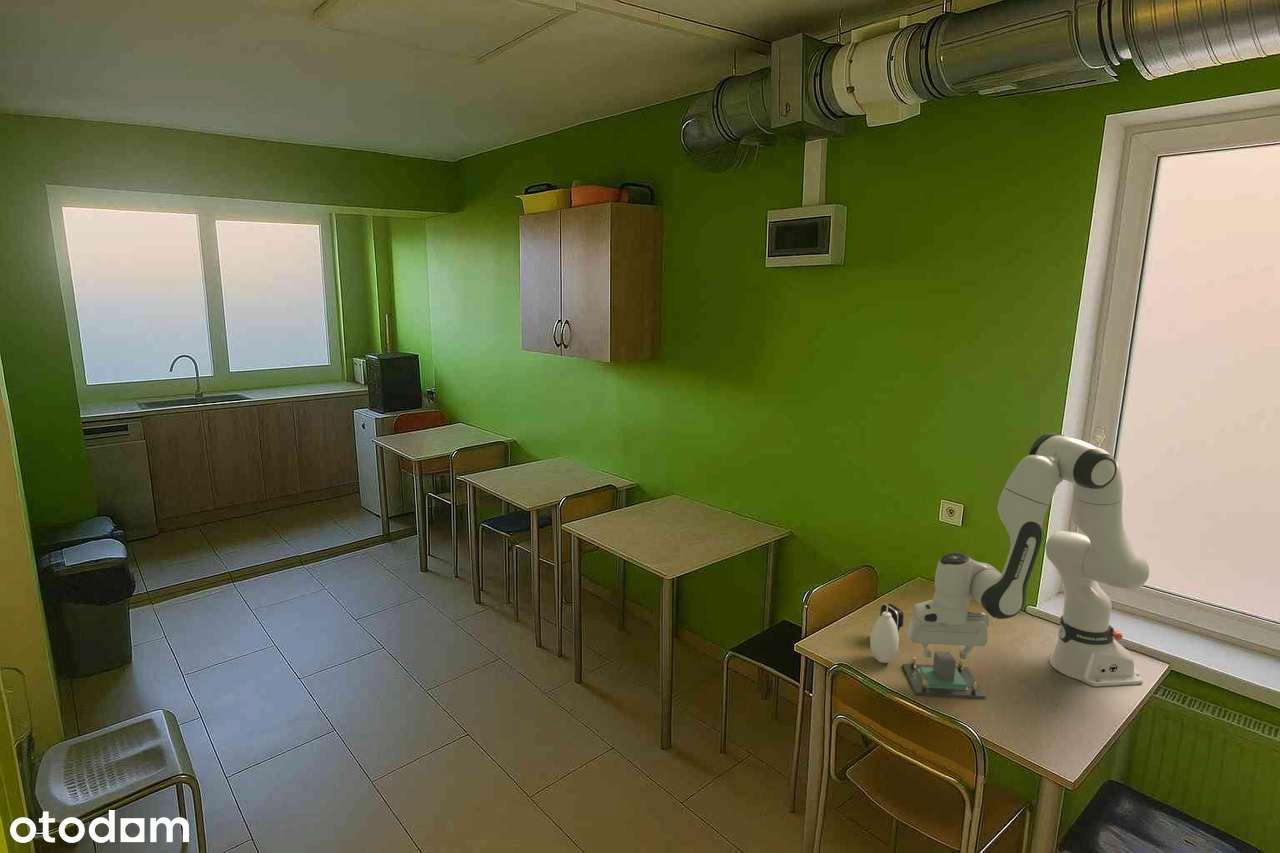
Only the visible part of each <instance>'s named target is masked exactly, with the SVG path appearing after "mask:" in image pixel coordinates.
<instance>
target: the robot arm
mask: <svg viewBox="0 0 1280 853" xmlns="http://www.w3.org/2000/svg"><path fill="white" fill-rule="evenodd" d="M1063 481H1067V482H1070V483H1072V484H1073V494H1072V495H1073V497H1072V499H1073V501H1072V505H1073V506H1072V519H1073V522H1074V524H1075V526H1076V527H1077V528H1078V529H1079V530H1080V531H1081V532H1082V533H1083V534H1081V533H1079V532H1073V531H1066V530H1057V531H1056V532H1054V533H1052V534H1051V535H1050V536H1049V537H1048V539H1047V541H1046V544H1045V555H1046V557H1047V559H1048V561H1049V562H1051V564H1052V565H1053V567H1054V568H1055V569H1056V572H1057V573H1058V575H1059V576H1060V579H1061V582H1062V585H1063V589H1064V590H1063V591H1064V602H1063V612H1062V615H1061V617H1060V620H1059V625H1058V634H1057V635H1058V638H1057V642H1056V644H1055V647H1054V649H1053V652H1052V653H1051V655H1050V657H1049V660H1048V661H1049V663H1050V665H1051V666H1052V667H1053V668H1054V669H1055V670H1057V671H1058V672H1060V673H1061V674H1063V675H1065V676H1067V677H1069V678H1072V679H1075V680H1078V681H1082V682H1083V683H1084V684H1087V685H1089V686H1092V687H1095V688H1096V687H1097V688H1098V687H1108V686H1109V687H1111V686H1112V687H1113V686H1128V685H1142V684H1143V683H1144V682H1143V680H1144V679H1143V676H1142V673H1141V672H1140V671H1139V670H1138V669H1137V668H1136V667H1135V663H1134V659H1133V656H1132V655H1131V653H1130V652H1129V651H1128V650H1127V649H1126V648H1125V647H1124V646H1123V645H1122V644H1121V643H1120V642H1119V641H1120V640H1122V639H1123V637H1124V636H1123V634H1122V633H1121V632H1120V631H1119V630H1116V629H1114V627H1112V625H1110V620H1111V612H1112V609H1113V606H1112V604H1113V603H1112V602H1111V599H1110V597H1109V595H1108V594H1107V593H1105V591H1104V590H1103V589H1102V588H1101V587H1100V584H1098V583H1101V584H1103V585H1106V586H1108V587H1111V588H1116V589H1120V590H1125V591H1129V592H1133V591H1136V590H1138V589H1140V588H1141V587H1142V586H1144V585H1145V584H1146V583H1147V581H1148V579H1149V576H1150V567H1149V563H1148V562H1147V560H1146V558H1145V557H1143V555H1141V554H1140V553H1139V552H1138V550H1136V548H1135V547H1134V546H1133V544H1132V543H1131V541H1130V539H1129V537H1128V536H1127V533H1126V531H1125V529H1124V522H1123V496H1124V494H1123V493H1124V492H1123V490H1124V489H1123V478H1122V472H1121V468H1120V465H1119V463H1118V462H1117V461H1116V458H1115V457H1114V456H1113V455H1112V454H1111V453H1109V452H1108V451H1107V450H1105V449H1103V448H1100V447H1097V446H1095V445H1093V444H1091V443H1088V442H1087V441H1083V440H1082V439H1076V438H1073V437H1070V436H1065V435H1063V434H1061V433H1055V432H1054V433H1053V432H1050V433H1049V432H1048V433H1044V434H1043V435H1040V437H1038V438H1037V439H1036V440H1034V442H1033V444H1032V445H1031V447H1030V450H1029V452H1028V455H1027V456H1025V457H1023V458H1022V459H1021V460H1020V461H1019V463H1018V464H1017V465H1016V467H1015V468H1014V469H1013V471H1012V473H1011V474H1010V476H1009V478H1008V480H1007V481H1006V483H1005V485H1004V486H1003V490H1002V491H1001V493H1000V495H999V499H998V503H997V508H996V509H997V513H998V517H999V518H1000V520H1001V523H1003V525H1004V527H1005V529H1006V531H1007V533H1008V536H1009V539H1010V549H1009V552H1008V555H1007V558H1006V561H1005V564H1004V567H1003V569H1002V572H1000V570H998V569H997V568H995V567H994V566H992V565H991V564H989V563H987V562H983V561H977V560H974V559H972V558H971V557H970V556H969V555H968V554H966V553H963V552H948V553H946V554H943V555H942V556H941V557H940V558H939V560H938V563H937V565H936V571H935V576H934V588H935V592H934V595H933V597H932V598H933V599H929V600H925V601H923V602H918V603H915V604H914V605H913V610H914V613H913V614H912V615H911V616H910V619H909V623H908V628H907V635H908V638H909V640H910V641H911V642H912V643H913V644H921V646H922V648H923V656H924V657H925V658H932V653H933V652H932V650H931V649H930V648H927V647H929V645H930V644H931V645H943V646H944V645H945V646H947V645H948V646H949V645H951V646H965V647H964V648H963V649H962V650H959V659H963V660H967V659H968V655H969V653H970V652H971V651H972V650H973V648H974V647H985V646H986V645H987V644H988V639H989V638H988V635H989V633H988V627H989V625H990V617H989V616H991V617H993V618H995V619H998V620H1004V619H1010V618H1013V617H1015V616H1017V615H1018V614H1019V613H1020V612H1021V611H1023V609H1024V607H1025V604H1026V598H1027V588H1028V583H1029V580H1030V578H1031V575H1032V572H1033V569H1034V566H1035V564H1036V560H1037V557H1038V554H1039V551H1040V547H1041V544H1042V541H1043V525H1044V524H1043V523H1044V519H1045V516H1046V512H1047V510H1048V508H1049V505H1050V504H1051V501H1052V499H1053V496H1054V494H1055V492H1056V489H1057V486H1059V485H1060V483H1062V482H1063ZM974 600H975V601H977V602H978V604H980V605H981V606H982V607H983V609H985V611H986V613H987V614H989V615H987V614H986V613H984V612H982V611H981V612H979V611H978V612H974V611H969V607H970V606H969V605H970V601H974Z"/></svg>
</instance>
